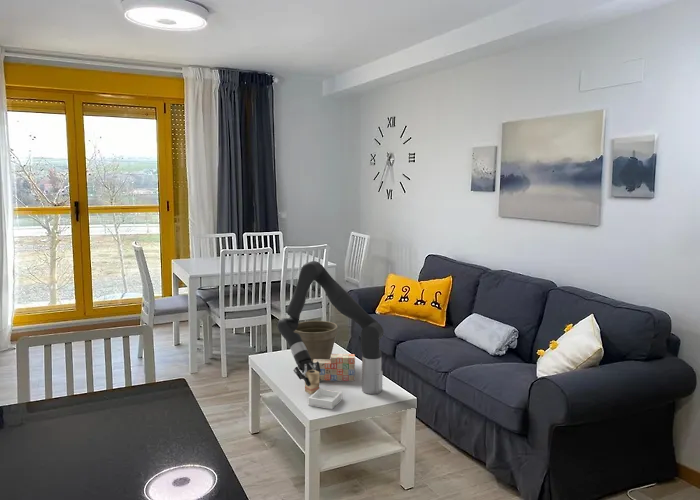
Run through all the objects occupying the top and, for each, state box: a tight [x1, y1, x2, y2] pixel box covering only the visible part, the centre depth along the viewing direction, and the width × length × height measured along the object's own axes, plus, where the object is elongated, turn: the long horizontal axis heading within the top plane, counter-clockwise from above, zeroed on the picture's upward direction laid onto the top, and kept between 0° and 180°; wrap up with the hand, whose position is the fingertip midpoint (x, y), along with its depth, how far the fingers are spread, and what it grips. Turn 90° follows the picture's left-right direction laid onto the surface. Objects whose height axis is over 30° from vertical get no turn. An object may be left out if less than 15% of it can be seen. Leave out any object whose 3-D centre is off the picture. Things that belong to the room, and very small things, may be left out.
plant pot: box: [294, 320, 339, 361], centre depth 302 cm, size 25×25×22 cm
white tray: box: [307, 388, 343, 410], centre depth 254 cm, size 12×12×4 cm
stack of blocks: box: [313, 353, 356, 382], centre depth 283 cm, size 21×6×12 cm, turn 89°
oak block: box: [304, 370, 321, 395], centre depth 266 cm, size 5×5×10 cm
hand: (314, 384), depth 264 cm, fingers closed on oak block, 5 cm apart
